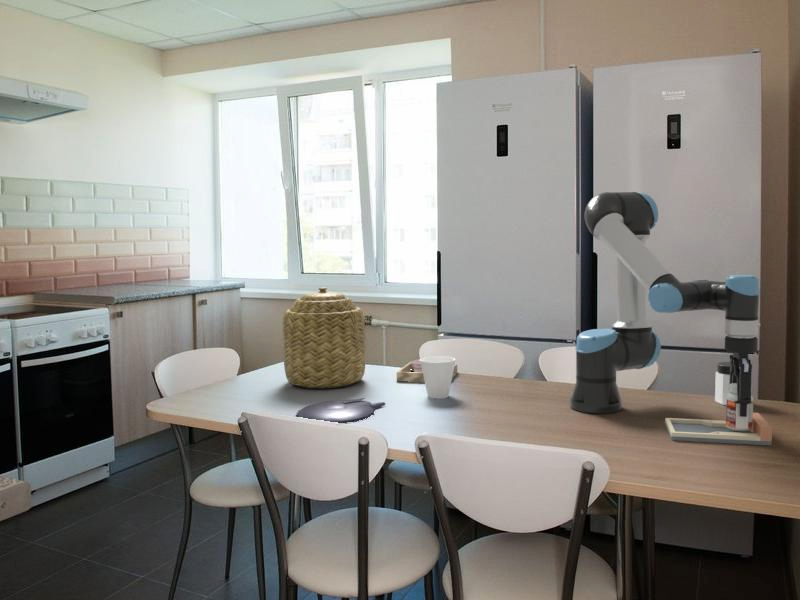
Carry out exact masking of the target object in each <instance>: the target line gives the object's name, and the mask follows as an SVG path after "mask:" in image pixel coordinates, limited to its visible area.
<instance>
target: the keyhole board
mask: <svg viewBox="0 0 800 600" xmlns="http://www.w3.org/2000/svg"><path fill="white" fill-rule="evenodd" d="M664 425H665V428H666V430H667V433H668V435H669V438H670V439H671V441H684V442H701V443H718V444H734V445H736V444H737V445H738V444H739V445H754V446H755V445H756V446H757V445H759V446H772V441H773V427H772V426H771V424H769V423H768V422H767V421H766V420H765V419H764V417H763V416H762V415H761V414H760V413H759V412H753V424H752V429H751V430H749V431H736V430H732V429H729V428H727V427H726V420H720V419H719V420H718V419H717V420H716V419H698V418H697V419H696V418H695V419H694V418H675V417H674V418H672V417H665V418H664Z"/></svg>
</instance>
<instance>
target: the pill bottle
mask: <svg viewBox="0 0 800 600" xmlns="http://www.w3.org/2000/svg"><path fill="white" fill-rule="evenodd" d="M752 388H753V386H752V385H751V394H752V391H753V389H752ZM729 391H730V392H731V393H729V394H728V395H727V405H726V410H725V412H726V413H725V421H726V427H727V428H729V429H732V430H736V431H749V430H751V429H752V424H753V413H754V397H753V395H751V403H749V411H748V429H736V404H735V403H734V401H737V400H738V398H737V383H731V384H730V385H729Z"/></svg>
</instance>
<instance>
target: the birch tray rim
mask: <svg viewBox="0 0 800 600" xmlns="http://www.w3.org/2000/svg"><path fill="white" fill-rule="evenodd" d="M410 362H411V361H410ZM410 362H408V363H406V364H405V365H404V366H403V367H401V368H400V369H399V370H397V371H396V382H397V381H408V382H407V383H422V384H423V383H424V384H425V381H424V376H423V372H411V371H414V369H413V367H412V365H411V363H410ZM410 369H412V370H410ZM457 374H458V363H455V365H454V370H453V375H452V379H453V378H454V377H455V376H456V375H457Z"/></svg>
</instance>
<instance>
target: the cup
mask: <svg viewBox="0 0 800 600" xmlns="http://www.w3.org/2000/svg"><path fill="white" fill-rule="evenodd" d="M419 360H420V363H421V367H422V372H423V376H424V381H425V383H424V384H425V389H426V394H427V398H429V397H430V399H434V398H437V400H439V399H441V398H442V399H446V398H449V396H450V389H451V386H452V380H453V378H452V375H453V370H454V365H455V364H456V358H455V357H452V356H445V355H435V356H434V355H433V356H432V355H431V356H426V357H421V358H420V359H419Z"/></svg>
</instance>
